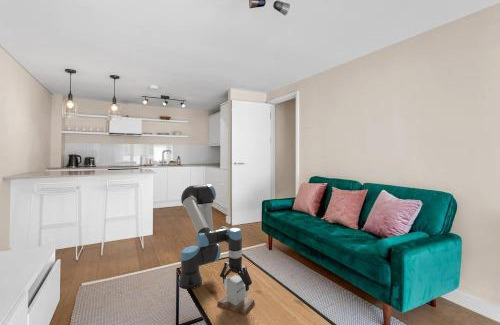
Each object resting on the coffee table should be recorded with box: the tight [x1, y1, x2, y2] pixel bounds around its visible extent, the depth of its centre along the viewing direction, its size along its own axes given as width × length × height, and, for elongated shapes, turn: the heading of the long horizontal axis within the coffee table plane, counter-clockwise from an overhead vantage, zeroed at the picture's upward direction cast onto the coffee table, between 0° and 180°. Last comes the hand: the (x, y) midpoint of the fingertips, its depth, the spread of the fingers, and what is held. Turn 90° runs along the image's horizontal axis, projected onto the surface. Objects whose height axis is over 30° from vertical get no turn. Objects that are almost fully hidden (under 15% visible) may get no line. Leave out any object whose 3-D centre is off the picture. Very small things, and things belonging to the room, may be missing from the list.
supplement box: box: [226, 274, 245, 305], centre depth 139 cm, size 7×7×13 cm
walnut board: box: [217, 292, 255, 315], centre depth 140 cm, size 18×11×2 cm, turn 60°
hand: (235, 292), depth 140 cm, fingers open, 13 cm apart
